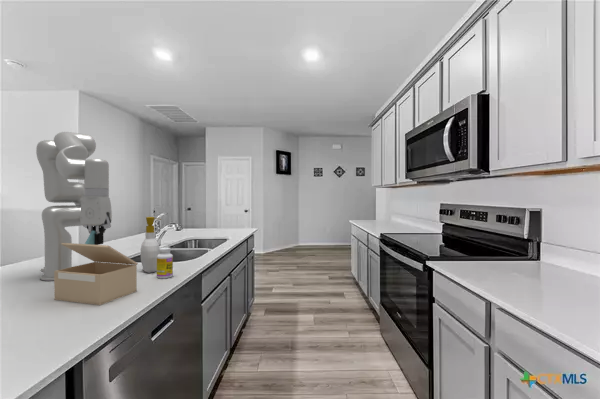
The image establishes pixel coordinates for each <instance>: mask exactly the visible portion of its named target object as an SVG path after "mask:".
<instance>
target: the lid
mask: <svg viewBox="0 0 600 399" xmlns="http://www.w3.org/2000/svg"><path fill="white" fill-rule="evenodd" d="M95 234H96V231H92V232H91V233H89V235H88V236H87V239H86V241H85V243H73V242H72V243H62V244H61V245H63V246H65V247H67V248H69V249H71V250H72V252H75V253H77V254H79V255H81V256H83V257H84V258H85V259H86V258H87V259H89V260H90V261H93V262H103V263H116V264H129V265H138V264H139V263H138V262H137V261H135V260H133V259H132V258H130V257H128V256H127V255H125V254H123V253H121V252H120V251H118V250H117V249H115V248H113V247H111V246H110V245H108V244H99V245H95Z"/></svg>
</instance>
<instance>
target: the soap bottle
mask: <svg viewBox="0 0 600 399" xmlns="http://www.w3.org/2000/svg"><path fill="white" fill-rule="evenodd" d="M145 220H146V227H145V238H144V240H143V241H142V243H141V247H140V263H141V266H142V269H143V271H144V272H145V273H149V274H151V273H155V272H157V255H158V254H160V252H159V249H160V248H161V247H160V244H159V242H158V240H157V239H156V233H155V226H154V223H155V220H159V221H161V220H162V218H155V217H154V216H145Z"/></svg>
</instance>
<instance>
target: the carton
mask: <svg viewBox="0 0 600 399" xmlns="http://www.w3.org/2000/svg"><path fill="white" fill-rule="evenodd" d="M137 265H138V264H137ZM137 265H132V264H119V263H106V262H94V261H93V262H89V263H88V262H87V263H84V264H80V265H75V266H72V267H70V268H65V269H61V270H57V271H54V280H53V282H54V283H53V285H54V286H53V287H54V288H53V289H54V295H53V296H54V301H61V302H62V301H63V302H72V303H79V304H80V303H81V304H86V305H87V304H89V305H95V306H96V305H97V306H102V305H104V304H107V303H110V302H113V301H114V300H115V301H116V300H117V299H120V298H123V297H126V296H129V295H130V294H133V293H136V292H138V291H137V289H138V288H137V284H138V283H137V282H138V281H137V280H138V278H137V272H138V271H137V270H138V268H137Z"/></svg>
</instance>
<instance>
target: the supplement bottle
mask: <svg viewBox="0 0 600 399" xmlns="http://www.w3.org/2000/svg"><path fill="white" fill-rule="evenodd" d="M159 248H160V249H159V252H160V254H158V255H157V271H156V278H157V279H169V278H172V277H173V275H174V274H173V272H174V270H173V268H174V255H173V254H172V253H171V250H172V249H171V247H159Z"/></svg>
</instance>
